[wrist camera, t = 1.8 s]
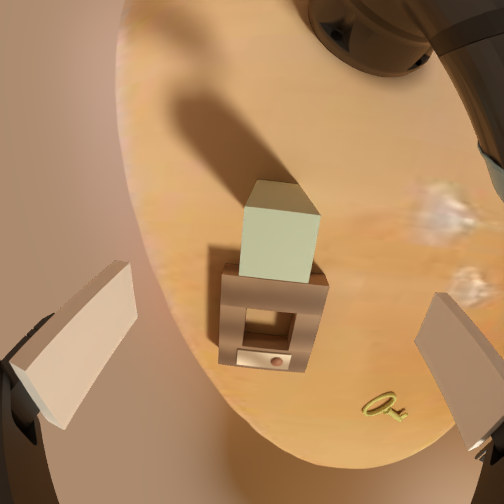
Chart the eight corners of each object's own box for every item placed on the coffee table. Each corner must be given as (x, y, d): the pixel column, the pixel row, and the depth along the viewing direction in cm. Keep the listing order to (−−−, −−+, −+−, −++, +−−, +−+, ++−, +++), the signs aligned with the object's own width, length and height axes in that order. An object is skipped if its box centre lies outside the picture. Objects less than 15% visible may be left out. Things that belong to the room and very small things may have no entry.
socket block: (226, 263, 33) (221, 275, 30) (324, 274, 32) (329, 287, 29) (221, 349, 38) (217, 365, 35) (303, 358, 38) (304, 374, 34)
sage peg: (257, 179, 29) (244, 206, 16) (298, 184, 29) (320, 215, 16) (253, 219, 30) (238, 275, 17) (293, 223, 30) (308, 283, 17)
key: (398, 415, 44) (400, 423, 42) (357, 410, 43) (359, 418, 41) (420, 395, 41) (423, 402, 39) (380, 388, 40) (383, 396, 38)
